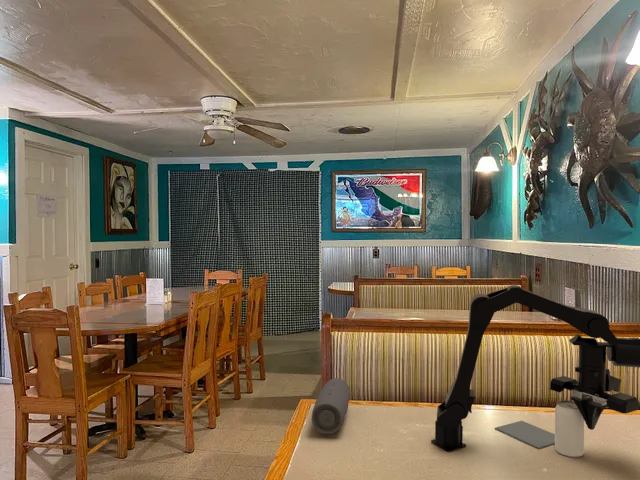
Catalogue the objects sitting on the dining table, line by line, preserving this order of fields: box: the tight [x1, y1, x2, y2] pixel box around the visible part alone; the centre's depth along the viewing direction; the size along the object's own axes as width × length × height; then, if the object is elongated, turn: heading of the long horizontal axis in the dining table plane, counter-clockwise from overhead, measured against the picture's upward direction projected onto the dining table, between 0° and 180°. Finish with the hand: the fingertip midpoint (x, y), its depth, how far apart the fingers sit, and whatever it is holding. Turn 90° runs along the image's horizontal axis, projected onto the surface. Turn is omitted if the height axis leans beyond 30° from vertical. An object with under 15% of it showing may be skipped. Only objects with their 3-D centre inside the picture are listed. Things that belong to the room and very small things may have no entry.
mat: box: [494, 420, 555, 450], centre depth 129 cm, size 11×14×1 cm
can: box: [554, 400, 585, 458], centre depth 118 cm, size 6×6×12 cm
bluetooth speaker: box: [311, 377, 351, 435], centre depth 137 cm, size 23×9×10 cm, turn 171°
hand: (591, 429), depth 113 cm, fingers closed
